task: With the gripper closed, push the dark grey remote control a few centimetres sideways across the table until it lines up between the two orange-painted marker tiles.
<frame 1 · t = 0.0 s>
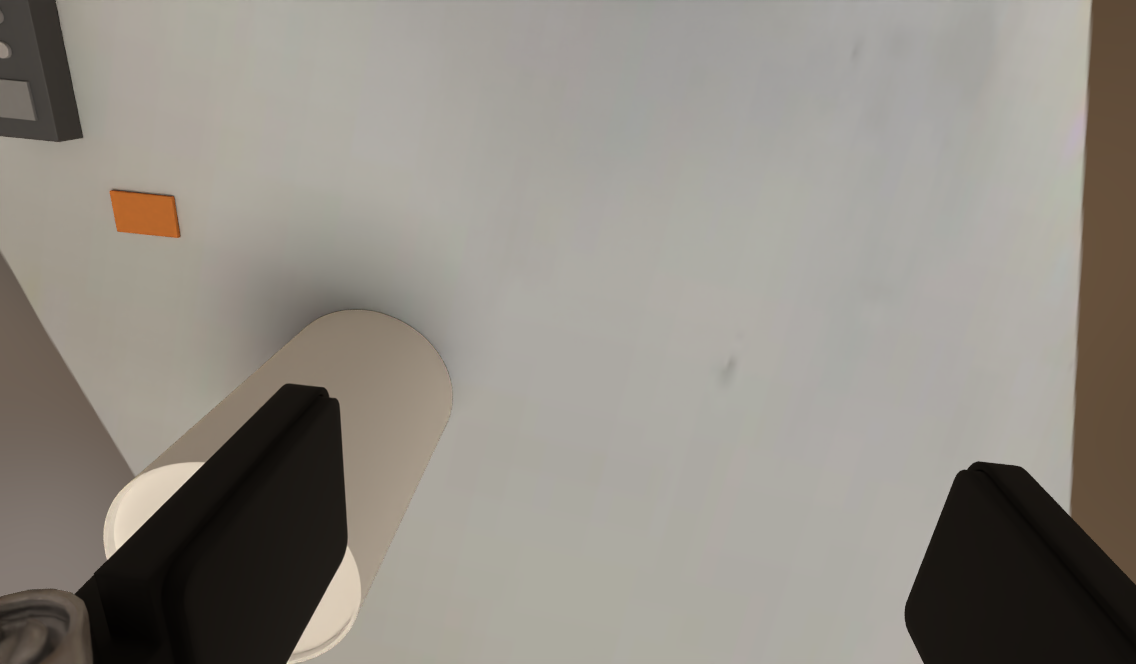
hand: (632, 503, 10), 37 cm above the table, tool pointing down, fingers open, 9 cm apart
canister: (369, 387, 53), on the table
remote: (29, 33, 44), on the table
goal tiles: (116, 41, 43), on the table
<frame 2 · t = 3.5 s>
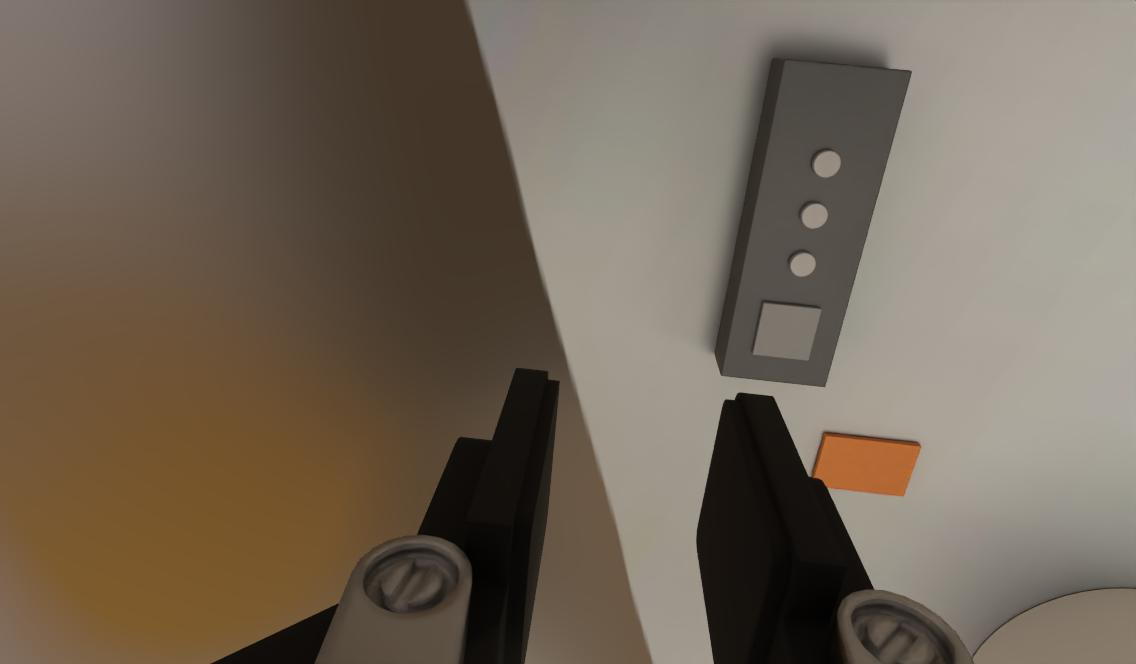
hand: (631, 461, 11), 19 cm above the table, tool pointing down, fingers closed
remote: (793, 225, 28), on the table
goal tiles: (934, 239, 28), on the table
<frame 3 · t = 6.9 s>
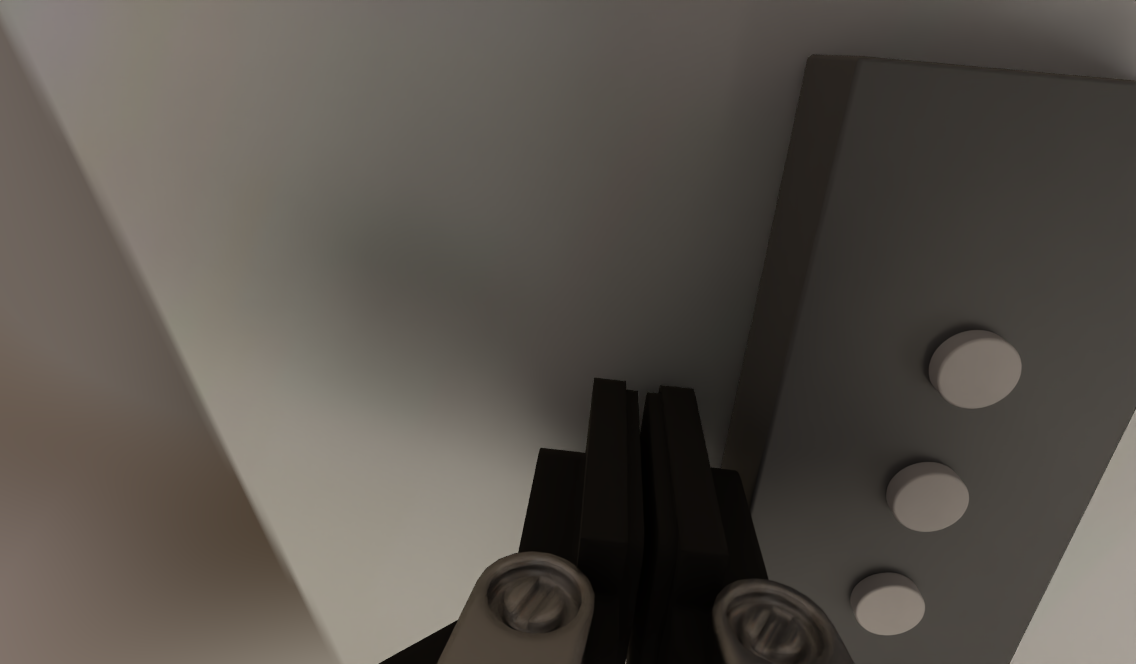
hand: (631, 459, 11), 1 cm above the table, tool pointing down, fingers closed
remote: (854, 460, 12), on the table, touching gripper
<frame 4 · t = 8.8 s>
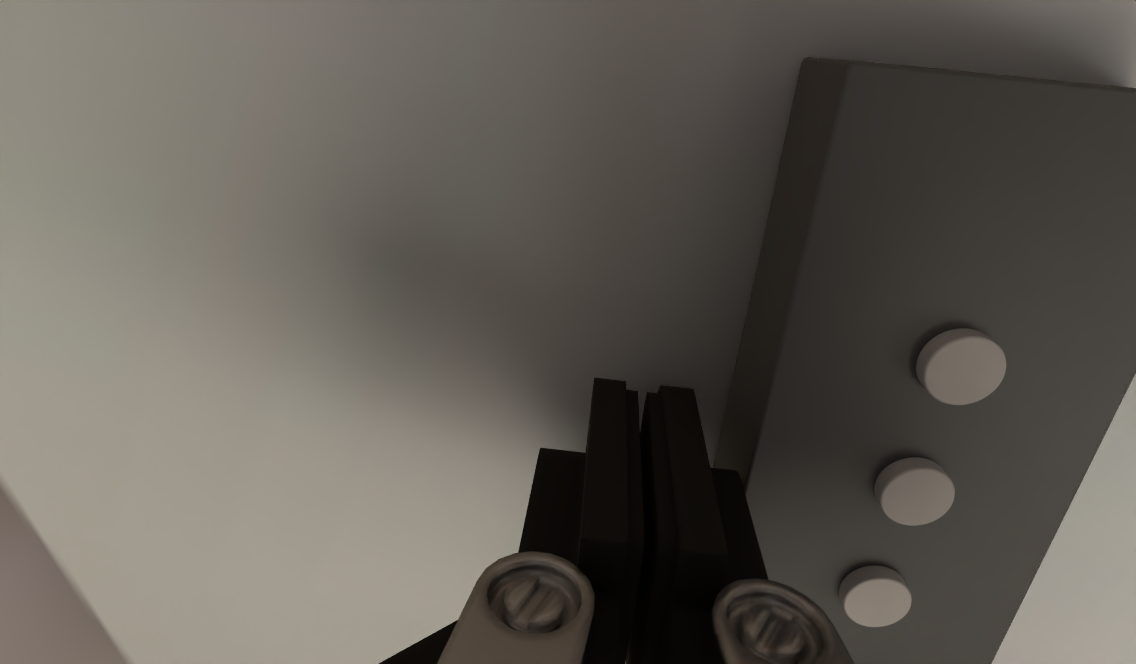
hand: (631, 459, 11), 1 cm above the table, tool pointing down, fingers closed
remote: (845, 456, 12), on the table, touching gripper
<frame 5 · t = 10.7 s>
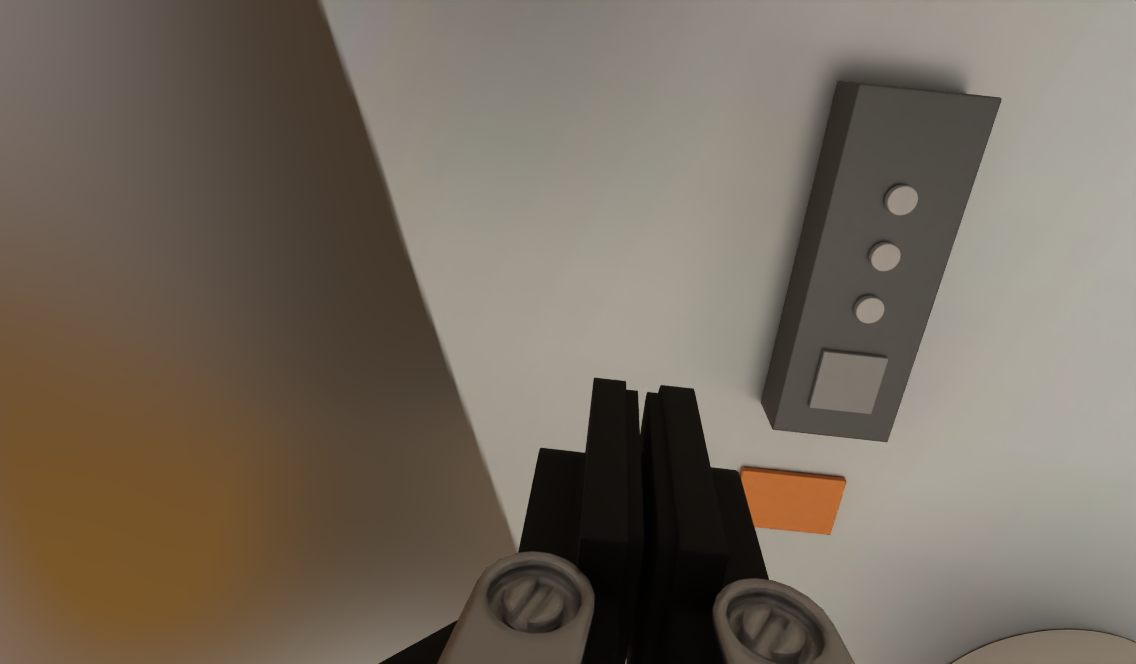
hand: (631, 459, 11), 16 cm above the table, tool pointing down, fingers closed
remote: (853, 264, 26), on the table
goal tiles: (850, 257, 26), on the table
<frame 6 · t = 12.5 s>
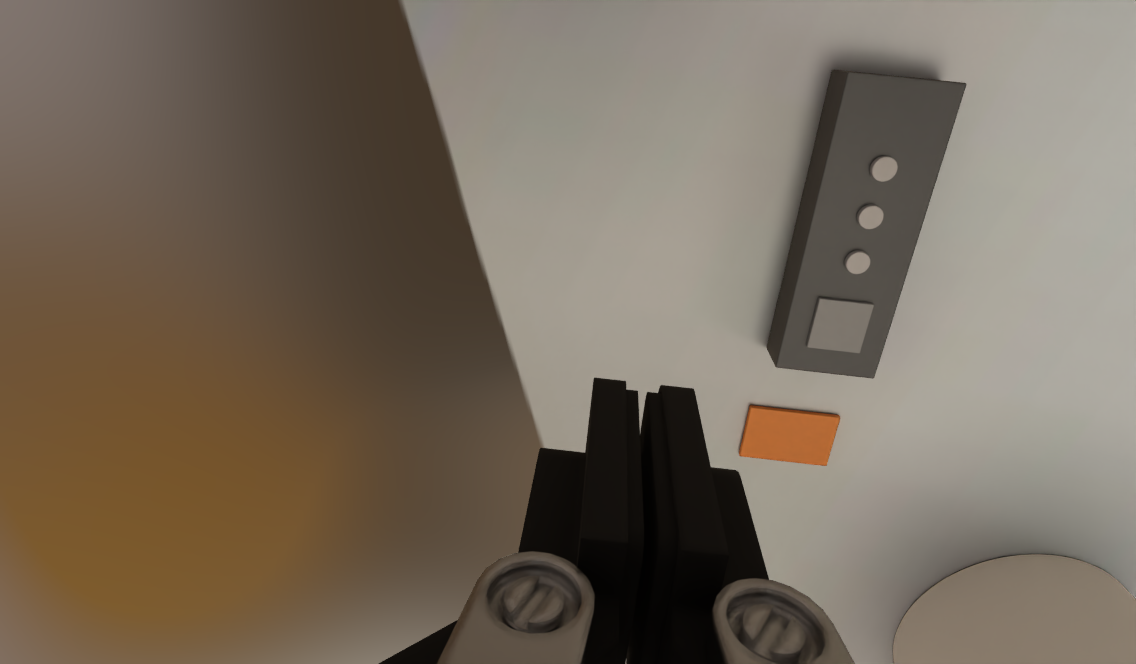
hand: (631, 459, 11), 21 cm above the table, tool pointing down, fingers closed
canister: (1010, 640, 39), on the table
remote: (846, 226, 30), on the table
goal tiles: (842, 220, 30), on the table
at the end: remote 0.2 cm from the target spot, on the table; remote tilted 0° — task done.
